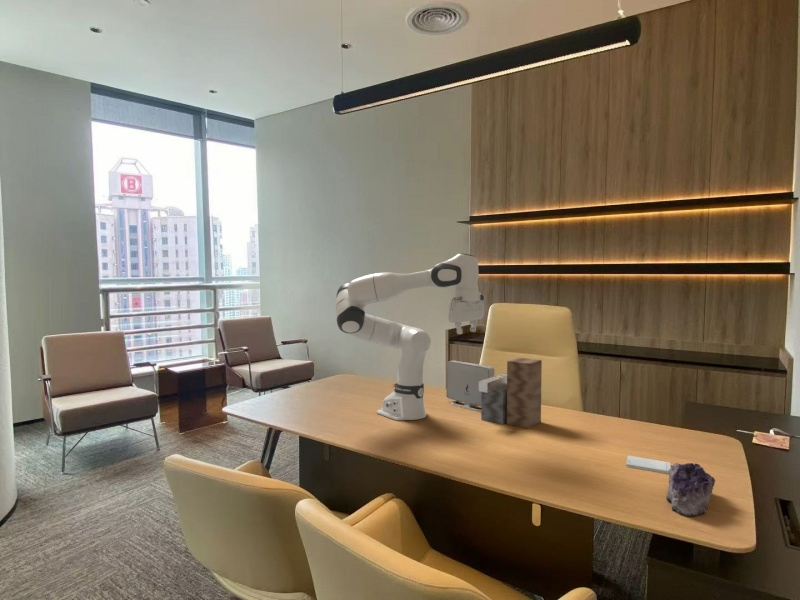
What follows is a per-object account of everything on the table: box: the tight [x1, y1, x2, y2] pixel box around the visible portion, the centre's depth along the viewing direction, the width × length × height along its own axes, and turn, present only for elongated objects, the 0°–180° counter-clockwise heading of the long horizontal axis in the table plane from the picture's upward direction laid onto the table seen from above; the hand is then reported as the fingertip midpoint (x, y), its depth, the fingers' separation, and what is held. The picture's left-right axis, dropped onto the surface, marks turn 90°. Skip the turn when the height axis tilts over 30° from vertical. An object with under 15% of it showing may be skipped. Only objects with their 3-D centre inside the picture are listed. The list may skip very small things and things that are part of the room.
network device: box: [445, 359, 495, 412], centre depth 222 cm, size 26×9×20 cm, turn 42°
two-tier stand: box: [480, 357, 543, 429], centre depth 199 cm, size 21×12×26 cm, turn 51°
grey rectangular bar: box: [479, 372, 507, 393], centre depth 200 cm, size 4×22×4 cm, turn 140°
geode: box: [666, 462, 716, 518], centre depth 127 cm, size 20×12×10 cm, turn 146°
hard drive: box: [625, 455, 672, 475], centre depth 151 cm, size 2×8×12 cm
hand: (466, 332), depth 180 cm, fingers open, 8 cm apart
